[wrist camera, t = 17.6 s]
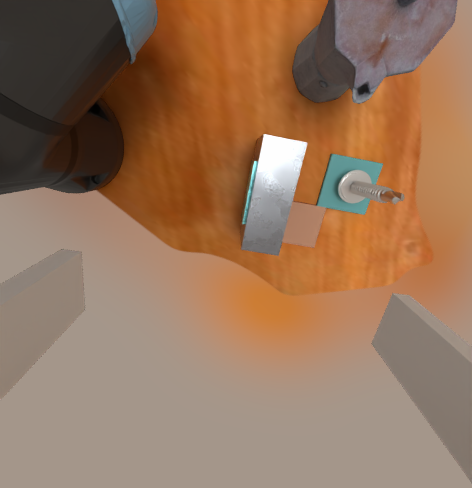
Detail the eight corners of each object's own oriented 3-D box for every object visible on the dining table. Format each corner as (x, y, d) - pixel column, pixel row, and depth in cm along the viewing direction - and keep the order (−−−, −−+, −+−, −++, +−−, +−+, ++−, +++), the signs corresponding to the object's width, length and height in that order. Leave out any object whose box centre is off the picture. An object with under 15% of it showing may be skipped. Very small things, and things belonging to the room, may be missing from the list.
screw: (370, 176, 39) (354, 205, 40) (343, 164, 38) (327, 194, 40) (433, 186, 26) (406, 227, 28) (394, 168, 26) (369, 212, 27)
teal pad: (316, 205, 41) (317, 205, 40) (331, 153, 38) (332, 153, 38) (363, 213, 41) (364, 214, 41) (380, 163, 39) (383, 163, 38)
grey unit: (237, 227, 42) (238, 248, 33) (254, 138, 37) (260, 133, 28) (269, 233, 42) (278, 255, 33) (289, 145, 38) (307, 142, 28)
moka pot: (277, 119, 37) (322, 82, 18) (303, -16, 31) (404, -269, 13) (340, 130, 37) (449, 105, 18) (376, -1, 32) (577, -222, 13)
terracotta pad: (273, 239, 43) (273, 240, 42) (283, 199, 40) (283, 199, 40) (313, 246, 43) (314, 247, 43) (325, 206, 41) (326, 207, 40)
